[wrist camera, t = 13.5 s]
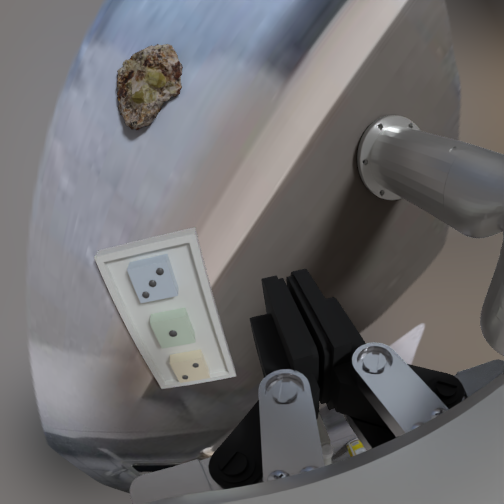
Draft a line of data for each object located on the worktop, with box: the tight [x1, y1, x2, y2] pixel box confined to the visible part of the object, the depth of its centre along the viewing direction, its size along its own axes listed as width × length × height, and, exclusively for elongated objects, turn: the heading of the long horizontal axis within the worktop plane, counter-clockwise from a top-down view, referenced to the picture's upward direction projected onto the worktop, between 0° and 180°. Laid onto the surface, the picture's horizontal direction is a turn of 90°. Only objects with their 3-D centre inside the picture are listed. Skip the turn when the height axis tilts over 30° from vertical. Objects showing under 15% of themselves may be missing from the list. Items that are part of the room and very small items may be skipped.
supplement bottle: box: [346, 438, 366, 457], centre depth 77 cm, size 6×6×10 cm
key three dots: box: [127, 254, 179, 303], centre depth 38 cm, size 5×5×2 cm
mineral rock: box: [117, 44, 183, 130], centre depth 28 cm, size 11×4×8 cm
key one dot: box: [150, 307, 196, 349], centre depth 42 cm, size 5×5×2 cm
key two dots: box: [170, 349, 210, 383], centre depth 46 cm, size 5×5×2 cm
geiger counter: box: [317, 414, 333, 466], centre depth 60 cm, size 14×6×25 cm
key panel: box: [94, 227, 236, 389], centre depth 43 cm, size 14×28×2 cm, turn 9°
